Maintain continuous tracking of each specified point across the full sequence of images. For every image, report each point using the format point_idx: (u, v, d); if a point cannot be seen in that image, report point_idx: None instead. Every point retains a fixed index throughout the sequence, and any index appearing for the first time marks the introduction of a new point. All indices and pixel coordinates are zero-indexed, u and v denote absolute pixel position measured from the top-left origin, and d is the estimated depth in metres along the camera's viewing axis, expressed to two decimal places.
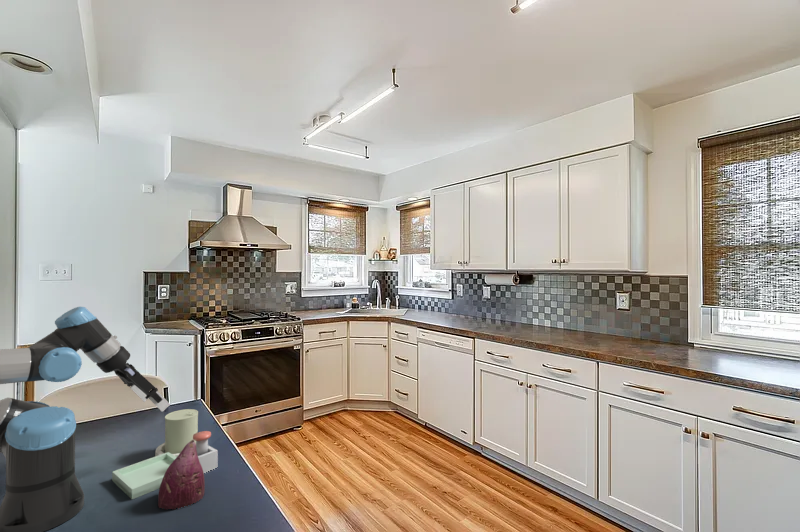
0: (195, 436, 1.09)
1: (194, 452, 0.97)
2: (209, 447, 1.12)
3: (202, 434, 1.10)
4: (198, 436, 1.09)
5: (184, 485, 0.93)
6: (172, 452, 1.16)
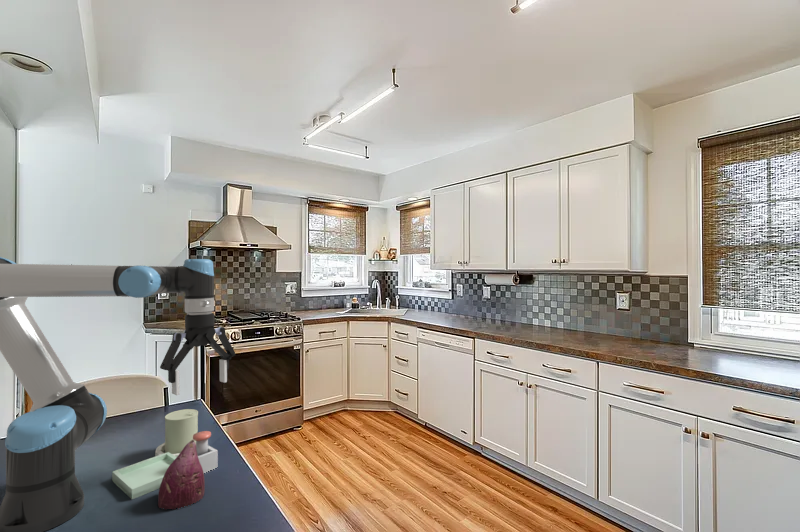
0: (195, 436, 1.09)
1: (194, 453, 0.97)
2: (209, 447, 1.12)
3: (202, 434, 1.10)
4: (198, 436, 1.09)
5: (184, 485, 0.93)
6: (172, 452, 1.16)
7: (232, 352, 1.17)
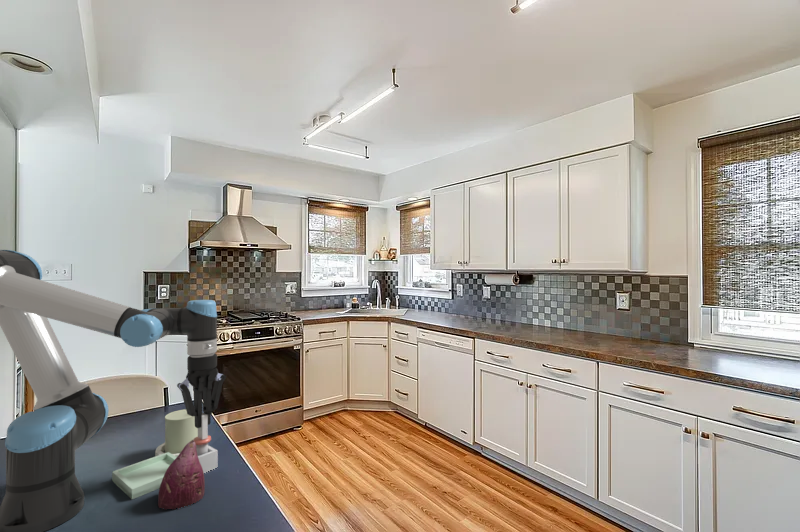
0: (195, 440, 1.09)
1: (194, 453, 0.97)
2: (209, 447, 1.12)
3: None
4: (198, 440, 1.09)
5: (184, 485, 0.93)
6: (172, 452, 1.16)
7: (215, 405, 1.12)
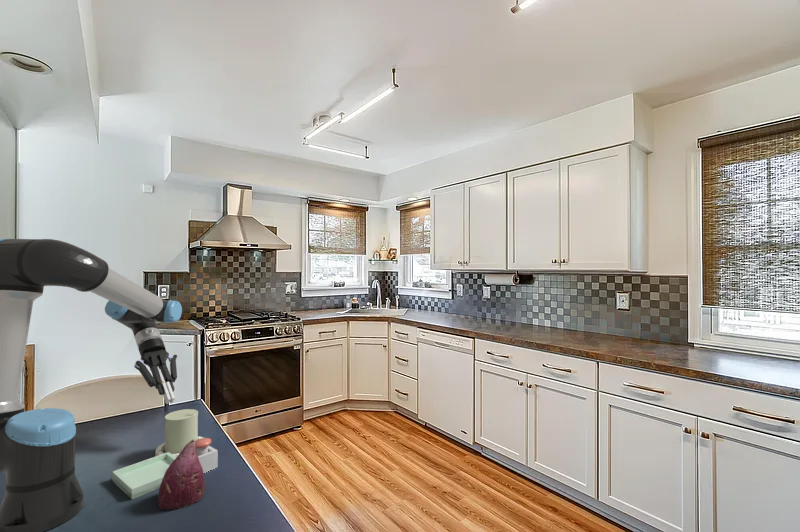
0: (195, 443, 1.09)
1: (194, 452, 0.97)
2: (209, 447, 1.12)
3: (202, 441, 1.10)
4: (198, 443, 1.09)
5: (184, 485, 0.93)
6: (172, 452, 1.16)
7: (174, 375, 1.32)
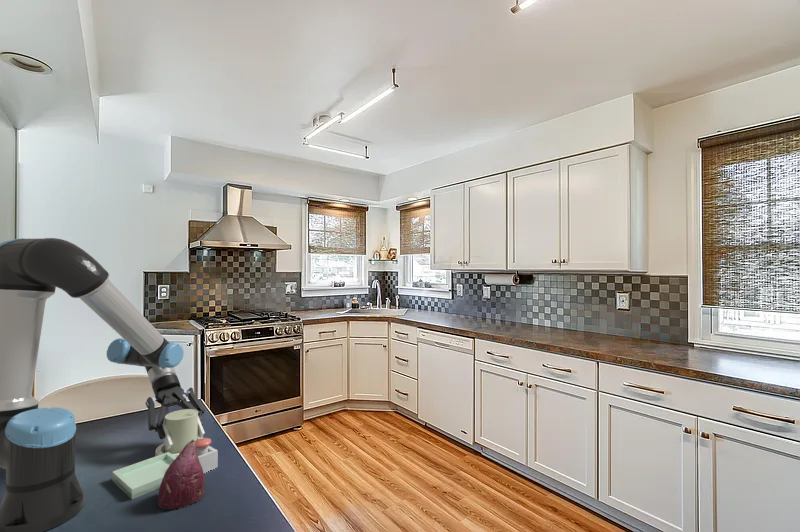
0: (195, 443, 1.09)
1: (194, 452, 0.97)
2: (209, 447, 1.12)
3: (202, 441, 1.10)
4: (198, 443, 1.09)
5: (184, 485, 0.93)
6: (172, 452, 1.16)
7: (202, 408, 1.28)
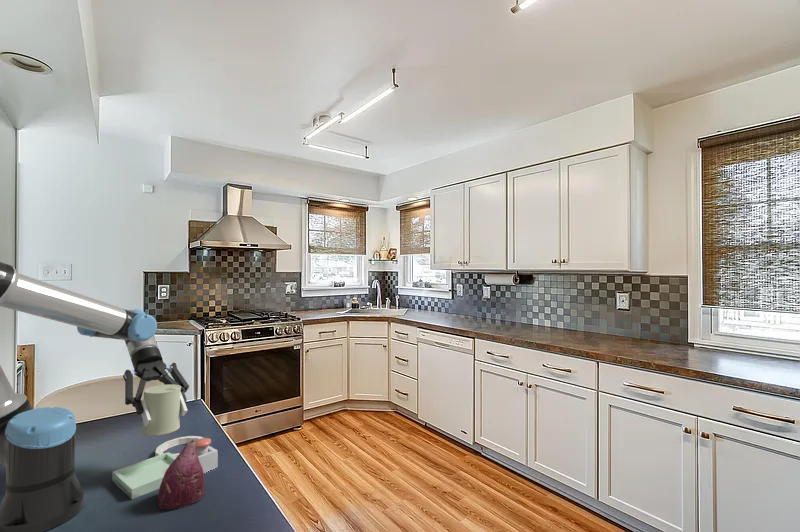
0: (195, 443, 1.09)
1: (194, 452, 0.97)
2: (209, 447, 1.12)
3: (202, 441, 1.10)
4: (198, 443, 1.09)
5: (184, 485, 0.93)
6: (150, 429, 1.06)
7: (185, 384, 1.18)
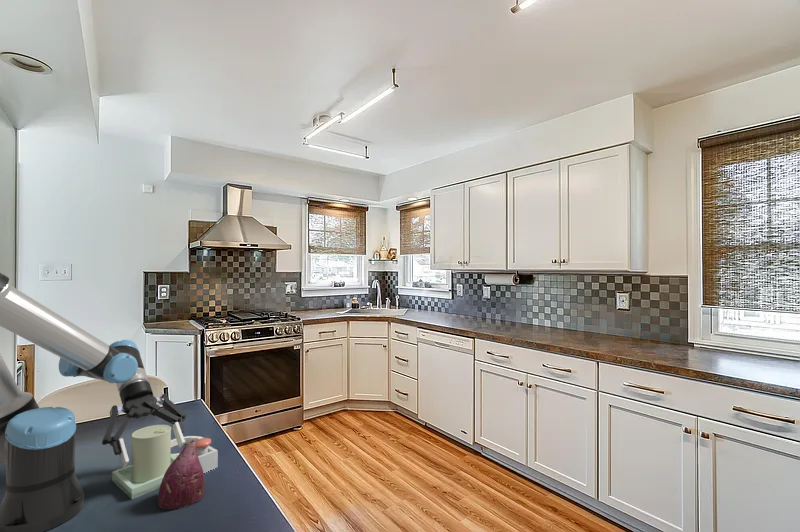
0: (195, 443, 1.09)
1: (194, 452, 0.97)
2: (209, 447, 1.12)
3: (202, 441, 1.10)
4: (198, 443, 1.09)
5: (184, 485, 0.93)
6: (139, 476, 1.01)
7: (182, 414, 1.14)
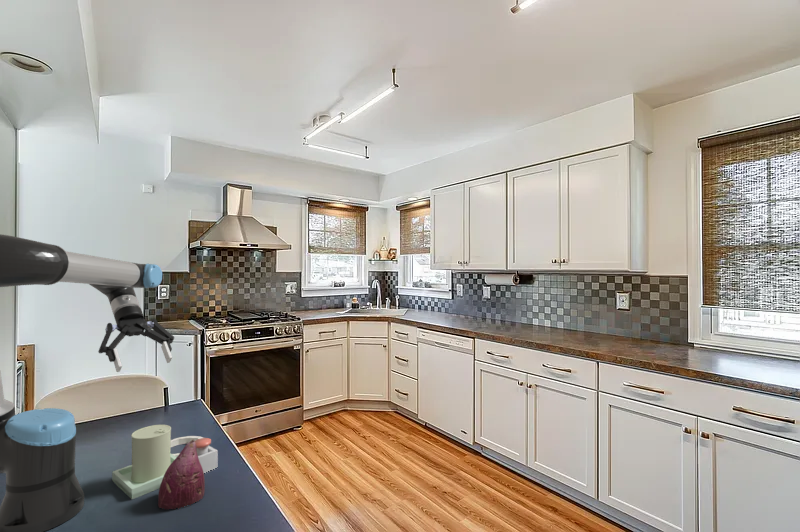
0: (195, 443, 1.09)
1: (194, 452, 0.97)
2: (209, 447, 1.12)
3: (202, 441, 1.10)
4: (198, 443, 1.09)
5: (184, 485, 0.93)
6: (139, 476, 1.01)
7: (170, 336, 1.29)
